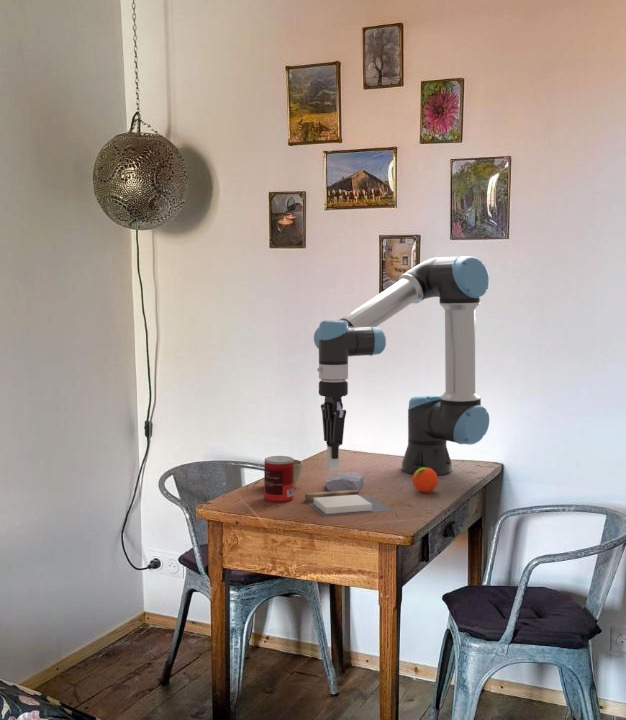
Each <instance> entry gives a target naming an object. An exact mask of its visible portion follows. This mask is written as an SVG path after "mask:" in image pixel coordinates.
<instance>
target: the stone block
mask: <svg viewBox="0 0 626 720" xmlns="http://www.w3.org/2000/svg"><path fill="white" fill-rule="evenodd" d="M364 481H365V480H364V473H353V472H341V473H336V474H332V475H331V476H330V477H328V478H327V480H326V481H325V488H326V490H327V492H331V491H345V490H357V491H360V490H361V488H362V486H363V485H364Z"/></svg>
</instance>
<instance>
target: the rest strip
mask: <svg viewBox="0 0 626 720" xmlns="http://www.w3.org/2000/svg"><path fill="white" fill-rule="evenodd" d="M359 491H360V490H359ZM359 491H357V490H345V491H320V492H318V491H317V492H306V493H304V501H305V502H306V504H308V503H310V502H314V498H318V497H332V496H346V495H359V496H360V494H359Z"/></svg>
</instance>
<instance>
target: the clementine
mask: <svg viewBox="0 0 626 720" xmlns="http://www.w3.org/2000/svg"><path fill="white" fill-rule="evenodd" d="M412 484H413V487H414V488H415V489H416V490H417V491H418V492H421V493H423V494H428V493H431V492H433V491H434V490H436V489H437V486H438V484H439V477H438V475H437V474H436V473H435V471H434V470H432V469H431V468H427V467H422V468H419V469H418V470H416V472H415V473H414V474H413V476H412Z"/></svg>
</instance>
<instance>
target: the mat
mask: <svg viewBox="0 0 626 720" xmlns="http://www.w3.org/2000/svg"><path fill="white" fill-rule="evenodd" d="M360 496H361V497H362V498H364V499H365V500H367V501H368V502H370V503H371V504H372V510H371V511H360V512H347V513H334V514H325V513H324V512H323V511H322V510H320V509H319V508H318V507H317V506H315V505H314V502H310V503H307V504H308V505H309V506H310V507H311V508H313V509H314V510H315V511H316V512H318V513H319V514H320V515H321V516H322V517H331V516H332V517H333V516H342V515H354V514H355V515H356V514H369V513H370V514H371V513H381V512H383V513H385V512H392V511H393V510H392V509H390V507H387V506H386V505H384V504H383V503H381V502H380V501H378V500H376V499H375V498H374V497H372V496H371V495H360Z"/></svg>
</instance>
